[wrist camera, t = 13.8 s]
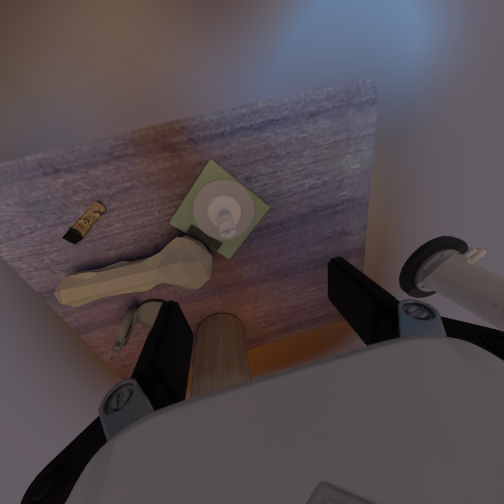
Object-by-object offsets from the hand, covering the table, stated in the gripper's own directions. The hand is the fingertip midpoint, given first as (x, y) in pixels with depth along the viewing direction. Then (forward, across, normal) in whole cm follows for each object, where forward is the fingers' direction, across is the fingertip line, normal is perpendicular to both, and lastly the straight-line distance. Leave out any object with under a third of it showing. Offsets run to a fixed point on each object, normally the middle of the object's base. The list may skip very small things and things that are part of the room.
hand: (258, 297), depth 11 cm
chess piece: (+19, +1, -1) cm, 19 cm away
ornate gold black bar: (+22, +22, -4) cm, 31 cm away
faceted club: (+22, +17, +4) cm, 28 cm away
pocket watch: (+22, +20, +15) cm, 33 cm away
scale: (+22, +2, -1) cm, 22 cm away
